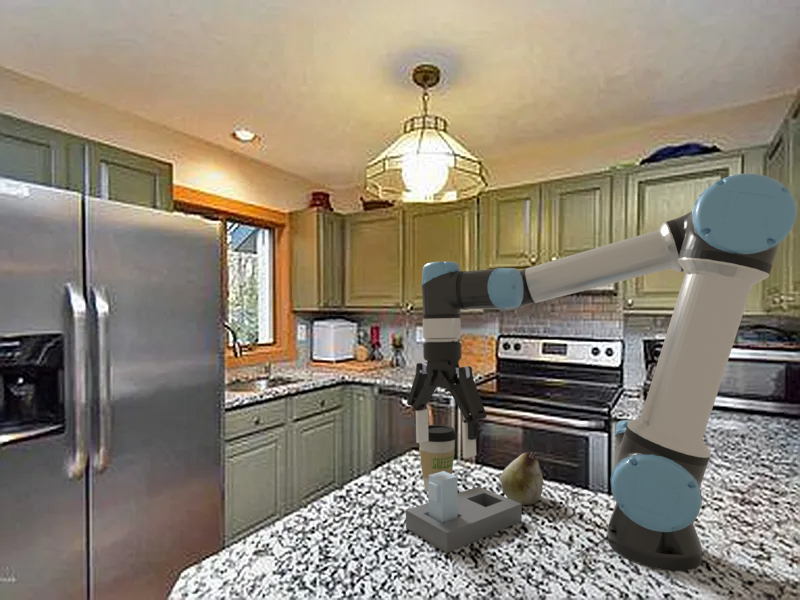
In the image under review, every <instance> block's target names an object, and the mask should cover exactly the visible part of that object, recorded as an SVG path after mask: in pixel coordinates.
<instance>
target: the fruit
mask: <svg viewBox="0 0 800 600" xmlns="http://www.w3.org/2000/svg"><path fill="white" fill-rule="evenodd" d="M542 473H543V472H542V470H541V469H540V464H539V460H538V458H537V456H536V455H535V451H531V452H524V453H522V454H520V455H519V456H518V457H516V458H515V459H514V460H512V461H511V462H510V463H508V465H507V466H506V467H505V468H504V469H503V470H502V472H501V475H500V484H501V489H502V490H503V492H504V495H505V497H506V498H508V499H511V500H513V501H516V502H518V503H521V504H522V505H523V506H529V505H533V504H535V503H537V502H538V501H539V500H540V498H541V497H542V494H543V490H544V489H543V488H544V486H543V484H544V483H543V482H544V477H543V474H542Z"/></svg>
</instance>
